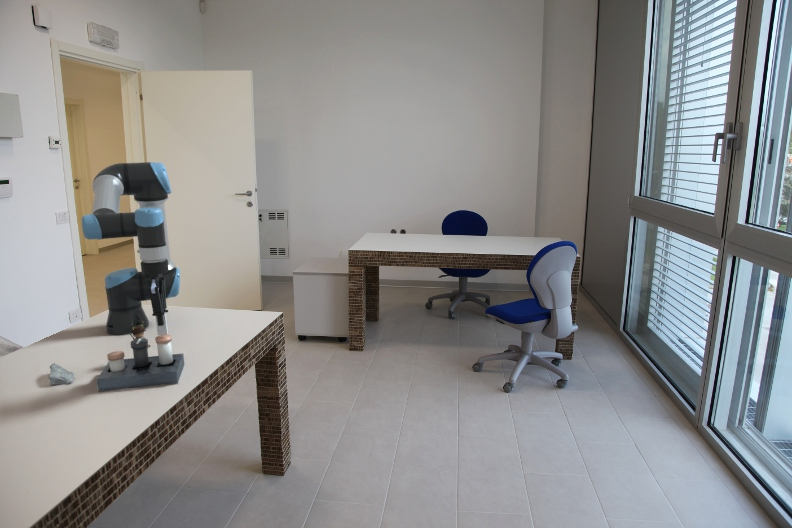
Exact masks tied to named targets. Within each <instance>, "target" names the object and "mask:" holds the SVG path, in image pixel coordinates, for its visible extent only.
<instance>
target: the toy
mask: <svg viewBox="0 0 792 528" xmlns="http://www.w3.org/2000/svg"><path fill="white" fill-rule="evenodd" d="M132 322H133V321H132ZM140 322H141V321H140ZM143 322H144V321H143ZM131 324H132V323H131ZM144 326H145V325H144ZM146 327H147V326H146ZM147 328H148V327H147ZM147 328H144V327H143V325H137V326H134V327H133V329H132V331H131V332H132V333H130V334H129V335H130V337H131V338H132V340H135V339H141V338H145V339H146V337H145V332H146V331H147ZM129 331H130V330H129ZM149 348H151V344H148V346H147V350H148V349H149Z"/></svg>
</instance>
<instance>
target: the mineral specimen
mask: <svg viewBox="0 0 792 528" xmlns="http://www.w3.org/2000/svg"><path fill="white" fill-rule="evenodd" d="M49 369H50V374H49V378H48V380H49V385H50V386H53V385H61V386H62V385H70V384H72V383H73V382H74V380H75V377H74V374H75V372H73V371H69V370H68V369H66V368H64V367H63V366H61V365H59V364H56V363H55V362H54V363H53V362H52V364H50V365H49Z"/></svg>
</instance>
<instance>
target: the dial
mask: <svg viewBox="0 0 792 528" xmlns="http://www.w3.org/2000/svg"><path fill="white" fill-rule="evenodd" d="M134 339H135V338H134ZM134 339H132V340H131V341H130V343H129V344H130V348H131V349H132V354H133V358H134V362H135V366H136V367H143V366H146V365H148V364H149V358H148V357H149V352H148V349H147V346H148V345H149V339H147V338H146V337H145V338H141V339H135V340H134Z"/></svg>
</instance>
